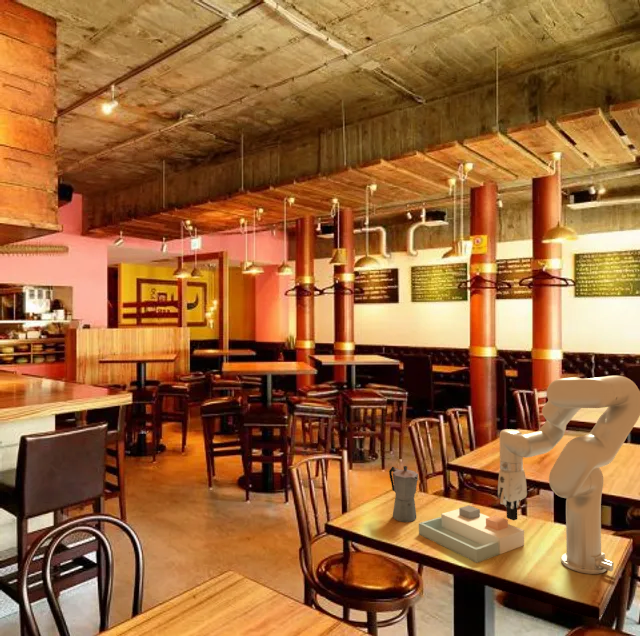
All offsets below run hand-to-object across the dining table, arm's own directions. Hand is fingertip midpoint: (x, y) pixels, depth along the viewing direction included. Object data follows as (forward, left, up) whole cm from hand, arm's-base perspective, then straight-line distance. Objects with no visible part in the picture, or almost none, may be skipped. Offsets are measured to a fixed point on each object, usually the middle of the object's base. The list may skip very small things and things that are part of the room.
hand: (512, 518), depth 184 cm
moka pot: (+34, +20, -6) cm, 40 cm away
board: (+6, +9, -6) cm, 12 cm away
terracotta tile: (0, +8, -1) cm, 8 cm away
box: (+6, +20, -6) cm, 22 cm away
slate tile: (+12, +8, -1) cm, 14 cm away
